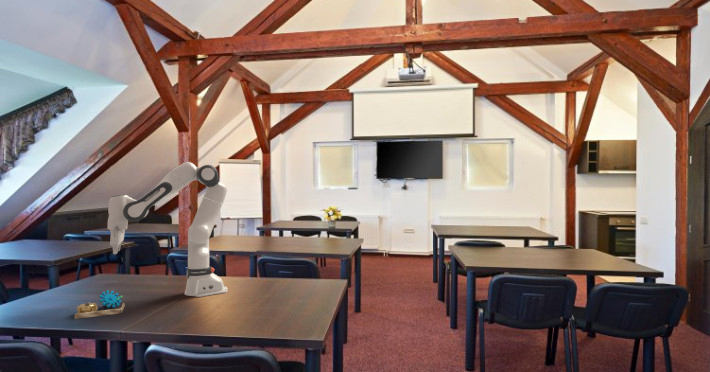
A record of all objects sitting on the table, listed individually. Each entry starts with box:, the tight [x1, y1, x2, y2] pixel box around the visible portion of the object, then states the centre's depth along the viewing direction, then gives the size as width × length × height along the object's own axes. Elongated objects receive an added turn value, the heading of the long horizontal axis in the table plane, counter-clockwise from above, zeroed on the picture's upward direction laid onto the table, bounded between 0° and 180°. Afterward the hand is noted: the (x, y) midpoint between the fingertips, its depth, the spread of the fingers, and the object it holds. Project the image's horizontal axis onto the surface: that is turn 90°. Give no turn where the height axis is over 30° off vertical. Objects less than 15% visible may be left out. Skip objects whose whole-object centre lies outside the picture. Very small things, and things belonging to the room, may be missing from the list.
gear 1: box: [76, 301, 98, 313], centre depth 173 cm, size 7×7×4 cm
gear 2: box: [99, 290, 124, 309], centre depth 184 cm, size 11×6×10 cm
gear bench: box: [74, 302, 126, 320], centre depth 175 cm, size 18×12×2 cm
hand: (116, 252), depth 193 cm, fingers open, 8 cm apart
